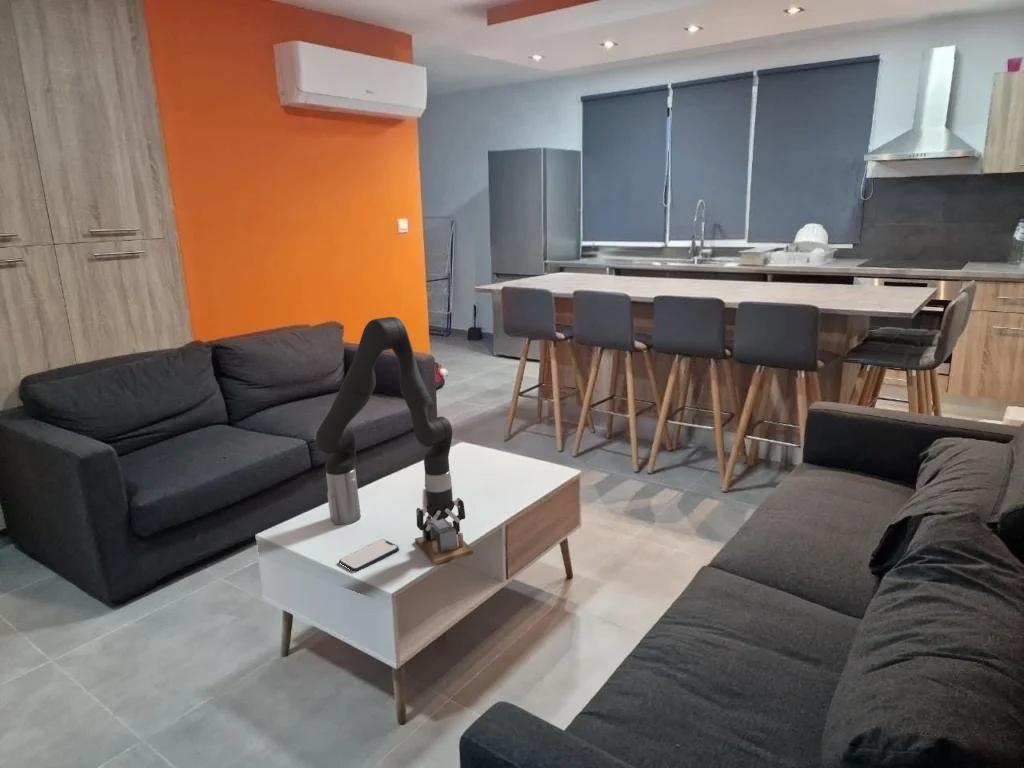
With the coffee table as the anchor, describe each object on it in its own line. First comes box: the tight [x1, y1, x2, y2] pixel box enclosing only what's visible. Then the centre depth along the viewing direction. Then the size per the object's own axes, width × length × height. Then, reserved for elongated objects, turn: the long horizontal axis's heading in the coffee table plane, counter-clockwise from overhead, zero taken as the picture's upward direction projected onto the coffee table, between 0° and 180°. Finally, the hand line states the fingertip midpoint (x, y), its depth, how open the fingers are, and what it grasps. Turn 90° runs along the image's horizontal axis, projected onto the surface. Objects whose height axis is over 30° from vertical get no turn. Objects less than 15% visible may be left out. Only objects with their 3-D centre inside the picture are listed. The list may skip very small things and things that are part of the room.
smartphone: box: [338, 539, 400, 572], centre depth 194 cm, size 9×2×16 cm
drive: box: [430, 518, 458, 554], centre depth 196 cm, size 5×10×6 cm, turn 27°
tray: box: [414, 521, 474, 566], centre depth 196 cm, size 12×16×5 cm
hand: (442, 537), depth 196 cm, fingers open, 8 cm apart
